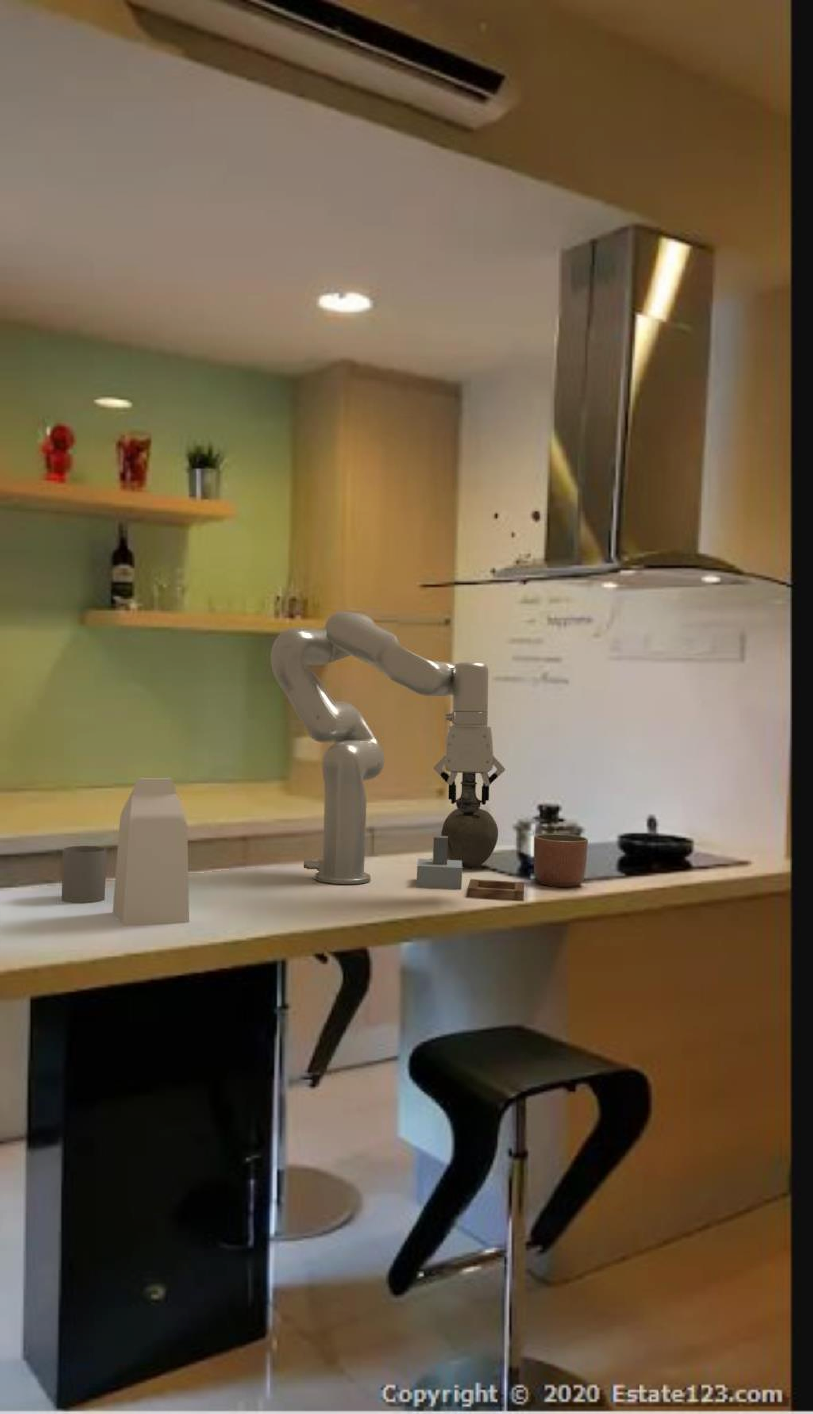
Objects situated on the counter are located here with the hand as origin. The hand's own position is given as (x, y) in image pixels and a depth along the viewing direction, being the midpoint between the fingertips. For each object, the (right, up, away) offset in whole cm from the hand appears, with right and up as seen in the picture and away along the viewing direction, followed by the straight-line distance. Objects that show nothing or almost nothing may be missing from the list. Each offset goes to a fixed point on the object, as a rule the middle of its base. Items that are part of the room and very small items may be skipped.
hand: (468, 802), depth 242 cm
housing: (-6, -20, +13) cm, 24 cm away
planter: (+22, -21, +19) cm, 36 cm away
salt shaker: (0, -3, 0) cm, 3 cm away
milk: (-61, -19, -32) cm, 72 cm away
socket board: (+6, -20, +3) cm, 21 cm away
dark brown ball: (+2, -19, +37) cm, 42 cm away
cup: (-78, -18, -18) cm, 82 cm away
